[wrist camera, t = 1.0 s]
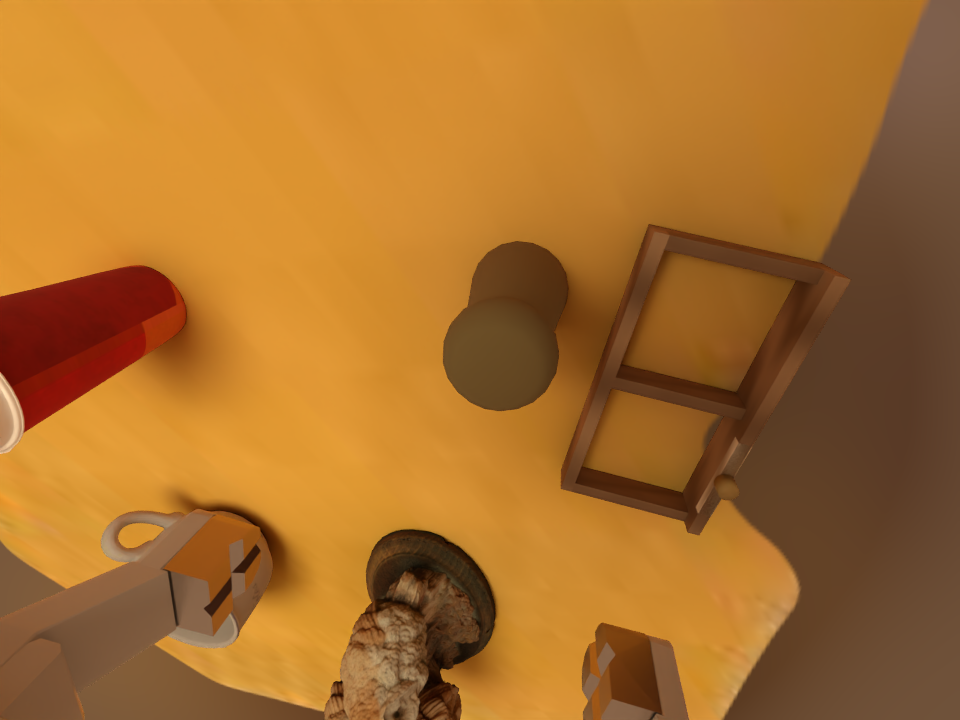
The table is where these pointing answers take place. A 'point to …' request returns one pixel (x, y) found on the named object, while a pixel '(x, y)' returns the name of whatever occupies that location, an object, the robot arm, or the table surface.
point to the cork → (508, 328)
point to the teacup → (117, 552)
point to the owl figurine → (413, 631)
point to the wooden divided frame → (740, 409)
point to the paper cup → (77, 339)
